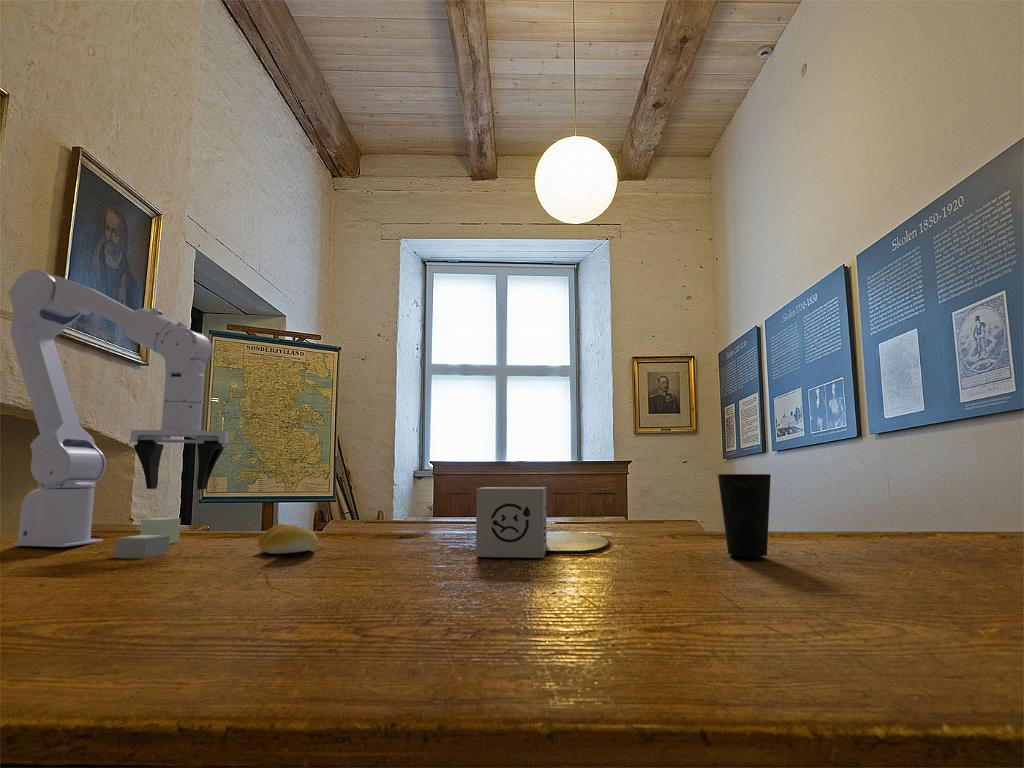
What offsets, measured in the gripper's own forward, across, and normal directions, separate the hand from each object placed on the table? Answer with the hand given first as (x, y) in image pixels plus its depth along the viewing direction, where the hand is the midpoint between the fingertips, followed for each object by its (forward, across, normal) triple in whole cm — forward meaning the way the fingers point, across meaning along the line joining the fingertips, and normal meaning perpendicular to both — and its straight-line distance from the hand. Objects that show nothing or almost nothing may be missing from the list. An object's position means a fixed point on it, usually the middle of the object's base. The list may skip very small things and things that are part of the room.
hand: (176, 489), depth 107 cm
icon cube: (+10, +53, -6) cm, 54 cm away
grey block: (+10, -2, -6) cm, 12 cm away
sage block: (+10, -3, +2) cm, 10 cm away
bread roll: (+10, +22, -6) cm, 25 cm away
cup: (+9, +88, -11) cm, 89 cm away
